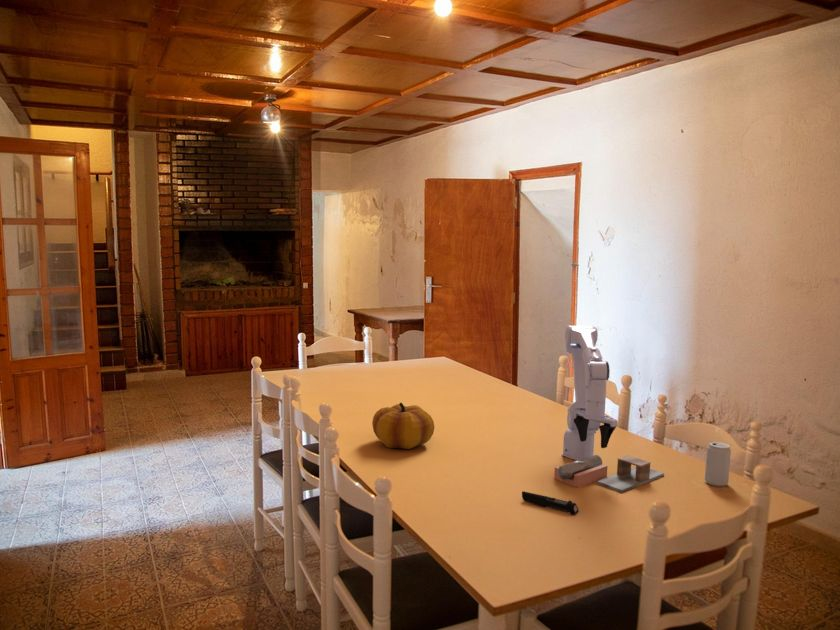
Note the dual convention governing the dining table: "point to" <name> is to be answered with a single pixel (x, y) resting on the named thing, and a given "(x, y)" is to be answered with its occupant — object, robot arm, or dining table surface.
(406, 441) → the decorative pumpkin
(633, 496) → the dining table surface
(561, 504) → the electric trimmer
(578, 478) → the cradle
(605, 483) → the arched stand
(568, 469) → the axle
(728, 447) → the beverage can
